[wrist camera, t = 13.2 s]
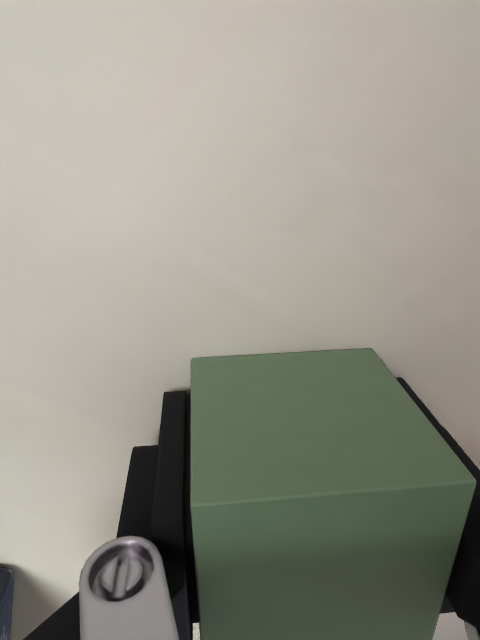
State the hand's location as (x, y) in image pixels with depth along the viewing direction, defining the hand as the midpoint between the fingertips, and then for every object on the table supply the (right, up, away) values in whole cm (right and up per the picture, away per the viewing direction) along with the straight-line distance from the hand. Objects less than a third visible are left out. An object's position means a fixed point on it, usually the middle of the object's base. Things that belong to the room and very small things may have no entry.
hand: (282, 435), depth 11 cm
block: (0, 0, 0) cm, 0 cm away
